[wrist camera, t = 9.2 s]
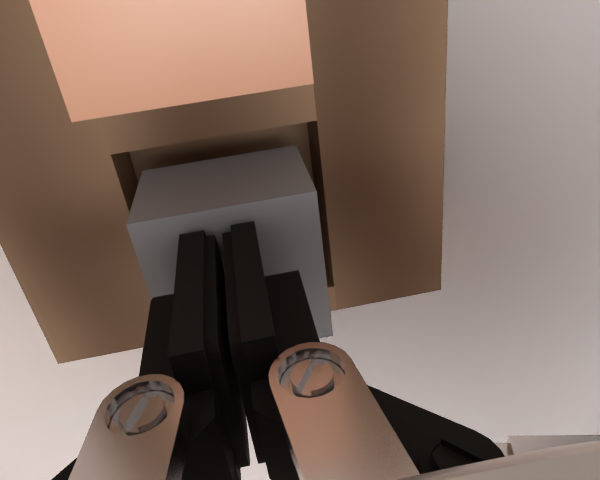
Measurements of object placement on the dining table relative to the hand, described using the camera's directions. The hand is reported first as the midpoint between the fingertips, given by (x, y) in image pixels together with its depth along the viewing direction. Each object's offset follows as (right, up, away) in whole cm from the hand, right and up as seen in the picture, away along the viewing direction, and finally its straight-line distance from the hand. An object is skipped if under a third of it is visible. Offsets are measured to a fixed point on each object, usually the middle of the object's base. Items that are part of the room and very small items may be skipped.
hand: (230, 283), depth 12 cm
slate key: (0, +1, +3) cm, 3 cm away
